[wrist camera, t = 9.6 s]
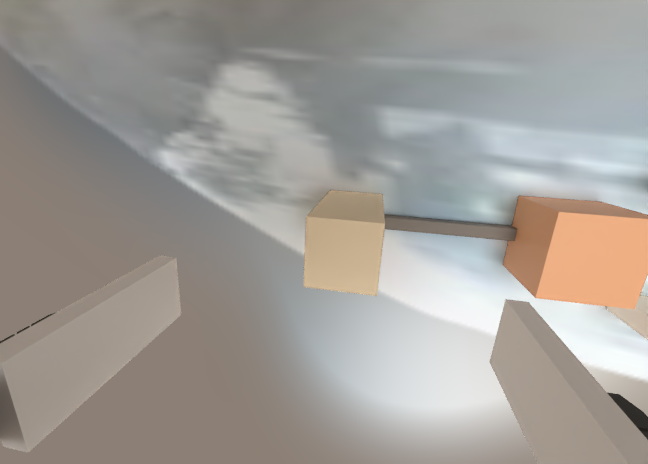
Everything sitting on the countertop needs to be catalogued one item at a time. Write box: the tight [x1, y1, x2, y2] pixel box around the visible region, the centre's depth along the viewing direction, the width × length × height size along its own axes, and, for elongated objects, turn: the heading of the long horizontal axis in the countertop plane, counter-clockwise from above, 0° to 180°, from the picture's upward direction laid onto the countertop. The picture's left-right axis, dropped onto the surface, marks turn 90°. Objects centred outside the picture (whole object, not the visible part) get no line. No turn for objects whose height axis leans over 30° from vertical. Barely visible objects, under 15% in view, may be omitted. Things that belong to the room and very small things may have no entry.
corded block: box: [304, 190, 648, 309], centre depth 22 cm, size 6×21×10 cm, turn 87°
